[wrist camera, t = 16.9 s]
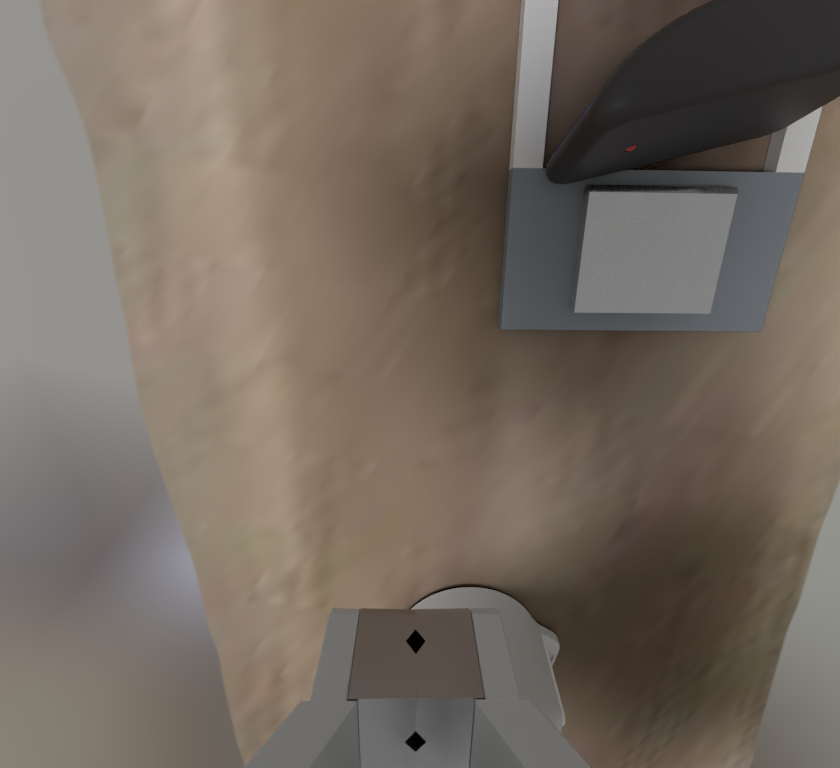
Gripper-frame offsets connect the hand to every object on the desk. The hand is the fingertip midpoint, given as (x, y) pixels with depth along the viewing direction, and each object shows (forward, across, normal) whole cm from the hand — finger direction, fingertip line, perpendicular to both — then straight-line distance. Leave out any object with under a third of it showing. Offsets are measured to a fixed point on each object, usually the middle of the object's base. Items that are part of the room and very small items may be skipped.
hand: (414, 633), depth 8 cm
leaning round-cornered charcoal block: (+26, -16, -13) cm, 33 cm away
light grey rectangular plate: (+26, -17, -6) cm, 31 cm away
